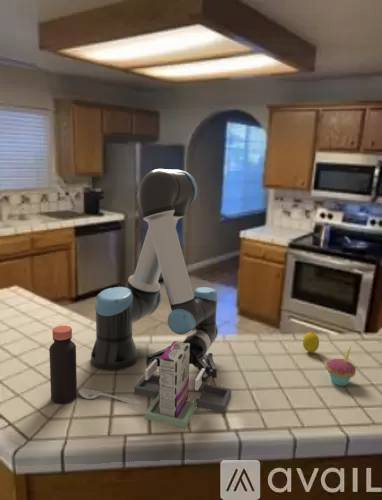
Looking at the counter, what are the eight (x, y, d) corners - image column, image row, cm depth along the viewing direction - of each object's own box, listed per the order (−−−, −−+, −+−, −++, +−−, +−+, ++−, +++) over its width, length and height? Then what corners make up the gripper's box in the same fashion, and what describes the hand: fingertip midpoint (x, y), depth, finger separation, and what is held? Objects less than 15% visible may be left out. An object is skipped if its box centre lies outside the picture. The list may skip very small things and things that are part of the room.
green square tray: (144, 418, 101) (144, 413, 101) (160, 396, 111) (160, 391, 111) (185, 428, 98) (185, 422, 97) (198, 404, 108) (198, 399, 108)
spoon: (82, 391, 113) (82, 386, 113) (151, 401, 109) (151, 396, 109) (75, 399, 109) (75, 393, 109) (147, 410, 105) (147, 404, 105)
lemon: (299, 349, 145) (301, 328, 143) (314, 349, 145) (316, 328, 144) (305, 356, 139) (307, 335, 138) (320, 356, 140) (322, 335, 138)
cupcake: (353, 378, 125) (357, 342, 123) (354, 391, 117) (359, 353, 115) (324, 373, 128) (328, 338, 126) (324, 385, 120) (328, 348, 118)
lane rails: (170, 383, 118) (170, 378, 118) (180, 368, 127) (180, 364, 127) (205, 390, 115) (205, 385, 115) (213, 375, 124) (213, 370, 124)
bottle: (62, 407, 104) (60, 336, 101) (45, 399, 108) (43, 329, 104) (82, 395, 110) (80, 327, 106) (65, 388, 114) (63, 322, 110)
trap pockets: (133, 393, 112) (134, 387, 112) (146, 378, 120) (146, 372, 120) (223, 412, 105) (224, 406, 104) (230, 395, 113) (231, 388, 113)
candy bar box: (172, 394, 112) (173, 340, 109) (189, 398, 110) (191, 343, 107) (157, 417, 101) (158, 357, 98) (175, 421, 100) (177, 361, 97)
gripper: (234, 365, 118) (217, 403, 98) (157, 351, 125) (126, 384, 105) (236, 341, 117) (219, 375, 97) (157, 329, 124) (126, 358, 104)
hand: (170, 380), depth 101 cm, fingers open, 13 cm apart
